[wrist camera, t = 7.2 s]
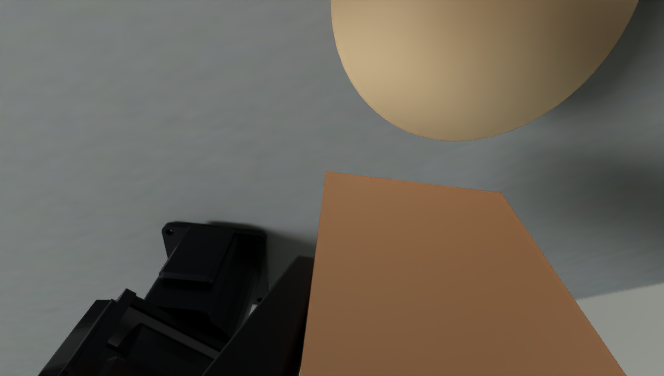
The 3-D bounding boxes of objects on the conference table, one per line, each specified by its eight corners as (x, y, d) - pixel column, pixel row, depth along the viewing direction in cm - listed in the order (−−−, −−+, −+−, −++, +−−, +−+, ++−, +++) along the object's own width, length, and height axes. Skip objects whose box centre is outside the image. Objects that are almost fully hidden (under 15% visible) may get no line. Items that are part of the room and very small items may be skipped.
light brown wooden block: (449, 308, 10) (522, 558, 6) (311, 292, 10) (281, 534, 6) (501, 192, 8) (678, 453, 4) (325, 171, 8) (295, 413, 3)
